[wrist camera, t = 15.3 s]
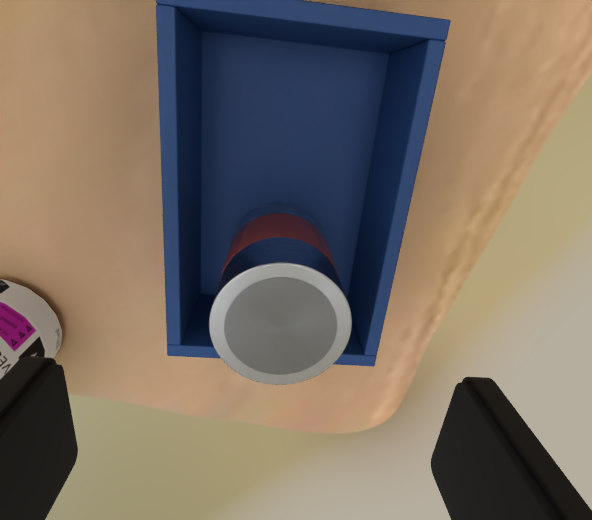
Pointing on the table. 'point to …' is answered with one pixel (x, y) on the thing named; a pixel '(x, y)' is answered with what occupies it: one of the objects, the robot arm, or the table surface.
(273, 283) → the silver can
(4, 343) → the supplement can
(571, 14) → the table surface
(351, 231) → the blue storage box
